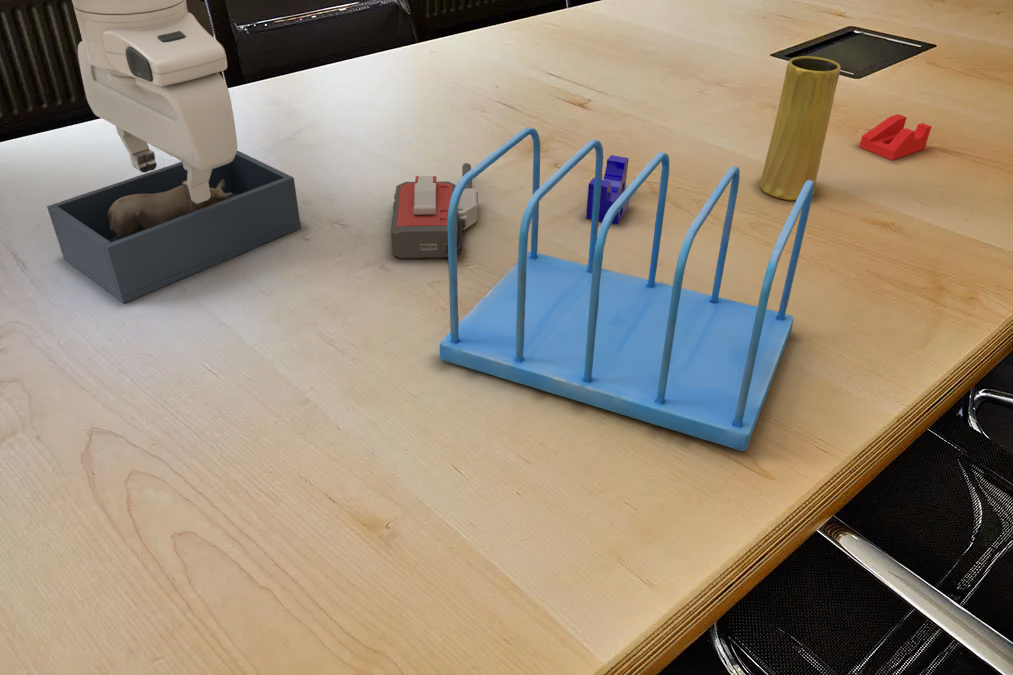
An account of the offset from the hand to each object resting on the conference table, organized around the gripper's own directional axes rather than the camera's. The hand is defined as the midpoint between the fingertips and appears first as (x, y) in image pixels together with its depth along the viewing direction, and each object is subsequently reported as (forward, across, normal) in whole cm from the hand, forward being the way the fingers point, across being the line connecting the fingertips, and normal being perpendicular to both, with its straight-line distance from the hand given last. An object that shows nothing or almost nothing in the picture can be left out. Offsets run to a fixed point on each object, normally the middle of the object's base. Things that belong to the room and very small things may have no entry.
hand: (171, 183), depth 81 cm
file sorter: (+6, +42, +15) cm, 45 cm away
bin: (+6, 0, 0) cm, 6 cm away
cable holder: (+6, +26, +36) cm, 45 cm away
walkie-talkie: (+6, +14, +21) cm, 26 cm away
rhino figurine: (+6, +1, 0) cm, 6 cm away
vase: (+6, +38, +53) cm, 66 cm away
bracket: (+6, +42, +73) cm, 85 cm away
